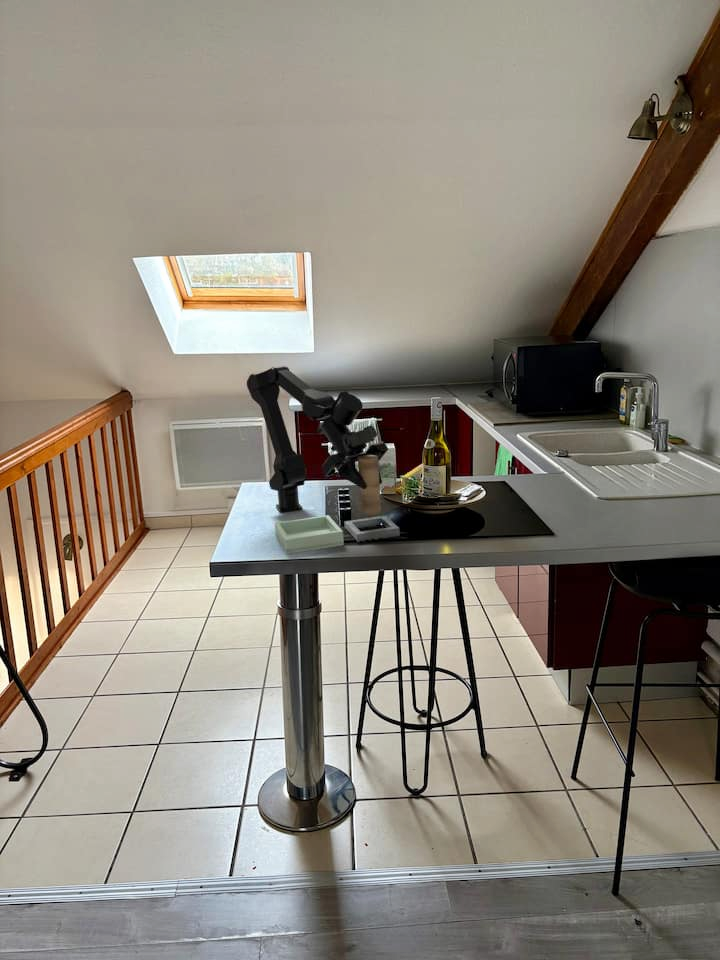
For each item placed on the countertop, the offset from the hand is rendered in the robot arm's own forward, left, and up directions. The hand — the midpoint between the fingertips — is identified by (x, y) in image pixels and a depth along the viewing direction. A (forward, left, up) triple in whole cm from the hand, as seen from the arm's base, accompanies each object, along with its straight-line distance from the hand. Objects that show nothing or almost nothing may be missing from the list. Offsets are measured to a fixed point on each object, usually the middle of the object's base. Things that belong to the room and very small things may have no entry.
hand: (373, 485), depth 182 cm
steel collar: (-1, -1, -12) cm, 12 cm away
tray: (-2, -17, -12) cm, 21 cm away
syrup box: (-33, +14, -13) cm, 38 cm away
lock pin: (-1, -1, -7) cm, 7 cm away
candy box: (-25, +20, -13) cm, 35 cm away
